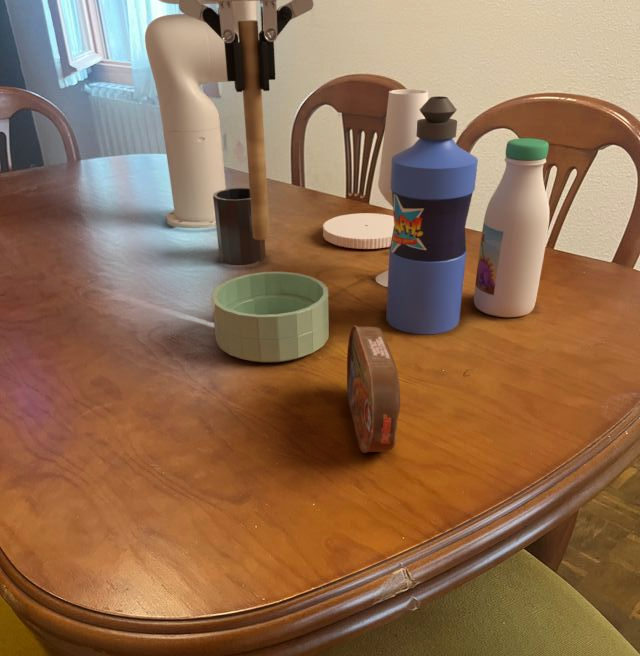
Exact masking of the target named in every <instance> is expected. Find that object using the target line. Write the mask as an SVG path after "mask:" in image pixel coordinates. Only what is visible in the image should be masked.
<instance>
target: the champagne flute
mask: <svg viewBox="0 0 640 656" xmlns="http://www.w3.org/2000/svg"><path fill="white" fill-rule="evenodd" d="M428 100H429V91H428V90H427V89H419V88H418V89H416V88H402V89H401V88H400V89H393V90H389V91H388V98H387V107H386V116H385V125H384V132H383V139H382V140H383V141H382V149H381V159H380V165H379V175H378V182H377V185H378V189H379V192H380V194H381V195H382V197H383V198H384V199H385V201H386V202H387V203H388V204H389V205H390V206H391V207H392V208H393V200H392V190H391V163H392V157H393V156H395V155H396V154H398V153H400V152H402V151H404V150H406V149H408V148H410V147H412V146H413V145H414V144H415V143H416V142H417V141H418V140H419V138H418V137H417V136H416V134H417V121H418V120H420V119H425V117H424V116H423V114H422V113H421V112H420V110H419V109H420V108H421V107H422V106H423V105H424V104H425V103H426V102H427V101H428ZM375 282H376V283H377V284H379V285H381V286H383V287H386V288H388V269H387V270H385V271H384V272H381V273H380V274H378V275H377V276H376V277H375Z"/></svg>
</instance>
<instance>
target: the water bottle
mask: <svg viewBox="0 0 640 656" xmlns="http://www.w3.org/2000/svg"><path fill="white" fill-rule="evenodd" d="M419 110H420V112H421V113H422V114H423V116H424V117H425V119H420V120H418V121H417V134H416V136H417V137H418V138H419V140H418V141H417V142H416V143H415V144H414V145H413V146H412V147H410V148H408V149H406V150H404V151H402V152H400V153H398V154H396V155H395V156H393V157H392V163H391V190H392V200H393V207H392V211H393V216H394V229H393V234H392V240H391V245H390V246H389V249H388V250H389V253H388V269H387V270H388V287H387V290H386V291H387V294H386V322H387V323H388V324H389V325H390V327H392V328H394V329H396V330H398V331H401V332H404V333H409V334H414V335H436V334H442V333H443V334H444V333H447V332H449V331H451V330H453V329H455V328H456V327H458V325H459V323H460V315H461V307H462V298H463V289H464V279H465V270H466V269H465V268H466V260H467V259H466V258H467V245H466V244H467V243H466V241H467V240H466V225H467V219H468V216H469V213H470V212H469V211H470V207H471V203H472V198H473V197H472V196H473V193H474V192H475V189H476V181H477V171H478V164H479V163H478V161H479V160H478V157H476V156H475V155H473V154H472V153H470V152H468V151H466V150H464V149H463V148H461V147H459V145H457V143H456V141H455V140H454V138H456V137H457V129H458V120H457V119H453V118H452V116H453V115H455V113H456V112H457V110H458V109H457V108H456V106H455V105H454V104H453V102H452V101H451V100H450V99H449V97H447V96H440V95H439V96H438V95H437V96H431V97H429V98H428V101H427V102H426V103H425V104H424V105H423V106H422V107H421V108H420V109H419Z"/></svg>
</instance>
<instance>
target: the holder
mask: <svg viewBox="0 0 640 656" xmlns="http://www.w3.org/2000/svg"><path fill="white" fill-rule="evenodd" d="M213 200H214V210H215V219H216V226H215V227H216V228H215V229H216V237H217V249H218V258H219V260H220V262H222V263H223V264H226V265H231V266H247V265H254V264H257V263H260V262H262V261H264V260H265V259H266V256H267V254H266V250H267V249H266V239H265V240H256V239H254V238H253V228H252V214H251V200H250V187H231V188H226V189H224V190H220V191H218V192H216V193H214V195H213Z"/></svg>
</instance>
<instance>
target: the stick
mask: <svg viewBox="0 0 640 656" xmlns="http://www.w3.org/2000/svg"><path fill="white" fill-rule="evenodd" d="M238 31H239V43H240V44H241V49H242V63H243V78H244V90H242V100H243V101H242V102H243V113H244V114H243V115H244V128H245V140H246V141H245V142H246V158H247V170H248V183H249V184H248V186H249V188H250V200H251V214H252V228H253V238H254V239H256V240H265V241H266V240H268V239H270V237H271V235H270V234H271V233H270V217H269V216H270V215H269V200H268V182H267V162H266V161H267V160H266V147H265V145H266V144H265V130H264V129H265V127H264V109H263V92H262V91H263V90H262V89H261V81H260V64H259V46H258V43H259V22H258V20H257V19H256V20H241V21H238Z"/></svg>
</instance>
